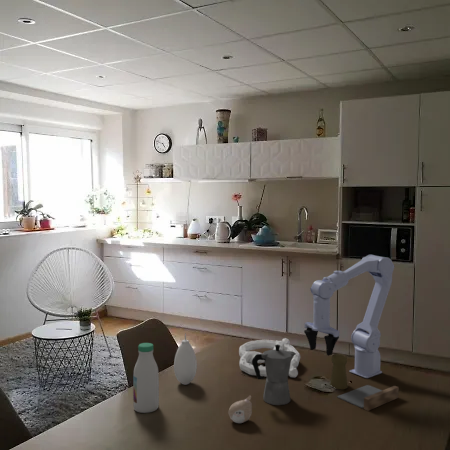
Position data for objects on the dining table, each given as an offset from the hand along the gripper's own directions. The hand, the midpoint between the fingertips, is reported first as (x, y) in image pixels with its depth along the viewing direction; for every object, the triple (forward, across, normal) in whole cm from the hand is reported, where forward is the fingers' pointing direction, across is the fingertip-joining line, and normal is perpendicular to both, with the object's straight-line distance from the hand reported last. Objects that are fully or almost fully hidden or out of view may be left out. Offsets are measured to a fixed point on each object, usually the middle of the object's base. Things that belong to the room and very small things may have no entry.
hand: (321, 352), depth 170 cm
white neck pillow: (+10, -22, -4) cm, 25 cm away
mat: (+10, +18, +1) cm, 21 cm away
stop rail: (+10, +24, +1) cm, 27 cm away
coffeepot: (+10, +2, -25) cm, 27 cm away
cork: (+10, +7, +1) cm, 13 cm away
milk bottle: (+10, -18, -61) cm, 64 cm away
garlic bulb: (+10, +7, -43) cm, 45 cm away
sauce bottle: (+10, -26, -40) cm, 49 cm away
